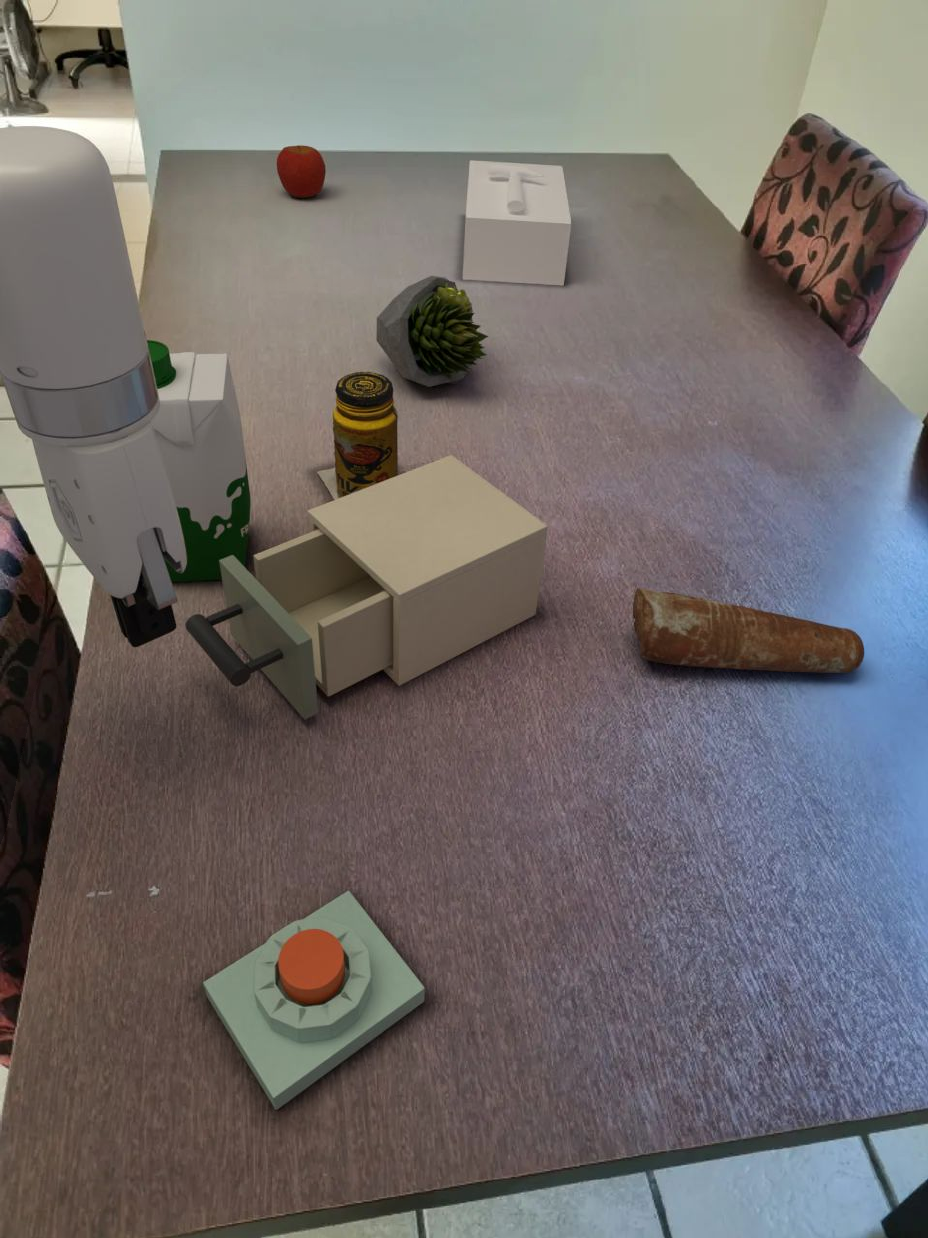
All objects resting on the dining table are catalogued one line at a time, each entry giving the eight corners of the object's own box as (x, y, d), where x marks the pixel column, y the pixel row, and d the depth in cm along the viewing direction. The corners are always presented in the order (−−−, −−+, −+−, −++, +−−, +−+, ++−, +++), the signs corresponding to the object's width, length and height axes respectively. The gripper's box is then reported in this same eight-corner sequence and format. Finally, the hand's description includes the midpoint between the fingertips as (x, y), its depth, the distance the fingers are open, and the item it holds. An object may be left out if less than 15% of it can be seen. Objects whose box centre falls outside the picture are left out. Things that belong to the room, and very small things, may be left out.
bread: (625, 623, 81) (636, 573, 77) (848, 648, 80) (870, 599, 76) (626, 675, 76) (638, 624, 73) (863, 702, 76) (888, 652, 72)
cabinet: (398, 686, 74) (399, 594, 68) (313, 600, 81) (307, 510, 75) (536, 614, 81) (548, 525, 75) (447, 541, 88) (451, 454, 82)
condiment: (346, 518, 90) (341, 407, 82) (316, 472, 96) (309, 364, 88) (415, 502, 93) (418, 393, 85) (382, 458, 98) (381, 352, 90)
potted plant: (461, 313, 117) (540, 327, 106) (408, 400, 117) (481, 422, 106) (398, 248, 109) (476, 256, 98) (340, 341, 109) (411, 359, 98)
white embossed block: (555, 222, 152) (563, 149, 145) (563, 285, 134) (573, 206, 126) (466, 216, 152) (470, 144, 145) (462, 279, 133) (466, 199, 126)
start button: (302, 1017, 51) (300, 1002, 50) (268, 967, 53) (265, 952, 52) (357, 979, 53) (356, 964, 52) (322, 932, 55) (321, 917, 54)
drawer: (253, 746, 68) (241, 671, 63) (181, 656, 74) (165, 581, 69) (447, 646, 77) (451, 573, 71) (368, 573, 83) (366, 501, 78)
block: (276, 1111, 51) (270, 1084, 48) (206, 996, 55) (198, 967, 53) (424, 1001, 55) (426, 973, 53) (349, 904, 60) (347, 874, 58)
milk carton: (159, 529, 88) (117, 326, 74) (258, 525, 89) (234, 324, 75) (149, 590, 81) (100, 380, 68) (255, 585, 82) (228, 377, 69)
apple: (306, 206, 152) (303, 155, 146) (268, 196, 154) (264, 145, 149) (335, 194, 157) (333, 143, 151) (298, 184, 159) (295, 134, 154)
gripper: (-34, 352, 53) (53, 595, 65) (68, 473, 45) (145, 726, 57) (94, 318, 57) (153, 555, 69) (211, 424, 48) (255, 672, 61)
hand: (150, 632), depth 63 cm, fingers closed
